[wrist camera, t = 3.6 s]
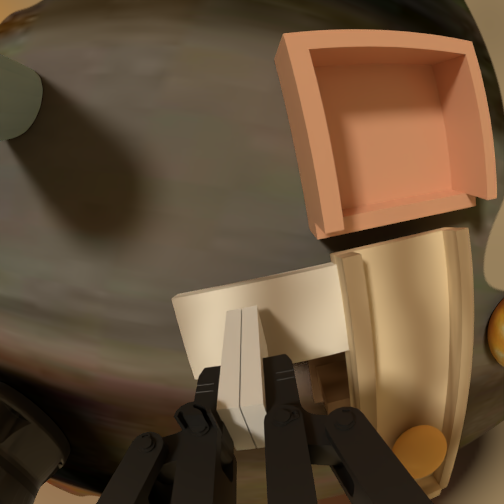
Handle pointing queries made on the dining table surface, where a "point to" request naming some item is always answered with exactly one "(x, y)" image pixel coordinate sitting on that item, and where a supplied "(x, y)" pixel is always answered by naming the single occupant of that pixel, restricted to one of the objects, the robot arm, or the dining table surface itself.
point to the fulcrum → (330, 381)
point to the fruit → (497, 333)
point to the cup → (18, 98)
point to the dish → (385, 126)
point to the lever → (366, 329)
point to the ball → (421, 450)
